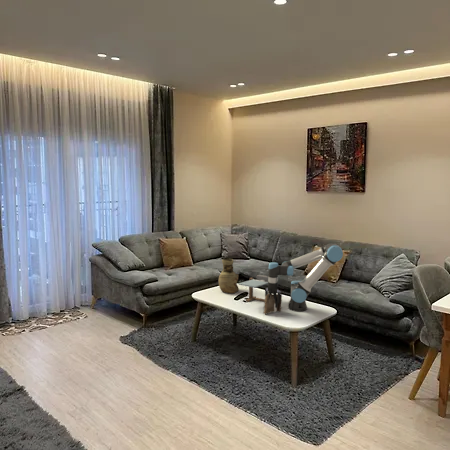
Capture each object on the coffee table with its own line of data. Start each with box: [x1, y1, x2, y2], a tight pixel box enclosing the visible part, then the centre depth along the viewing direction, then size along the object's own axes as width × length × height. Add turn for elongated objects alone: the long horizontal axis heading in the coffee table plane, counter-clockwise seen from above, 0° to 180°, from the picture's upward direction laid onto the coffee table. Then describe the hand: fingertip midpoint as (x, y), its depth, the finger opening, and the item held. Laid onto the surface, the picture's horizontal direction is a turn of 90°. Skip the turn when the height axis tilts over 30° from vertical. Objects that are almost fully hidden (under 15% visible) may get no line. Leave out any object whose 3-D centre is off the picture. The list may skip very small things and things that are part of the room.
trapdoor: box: [237, 274, 268, 289], centre depth 338 cm, size 16×33×7 cm, turn 145°
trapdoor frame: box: [245, 277, 272, 303], centre depth 344 cm, size 22×12×20 cm, turn 55°
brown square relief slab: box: [263, 293, 283, 315], centre depth 318 cm, size 17×4×15 cm, turn 123°
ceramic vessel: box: [218, 258, 240, 294], centre depth 374 cm, size 19×21×30 cm
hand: (272, 310), depth 319 cm, fingers closed on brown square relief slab, 5 cm apart
